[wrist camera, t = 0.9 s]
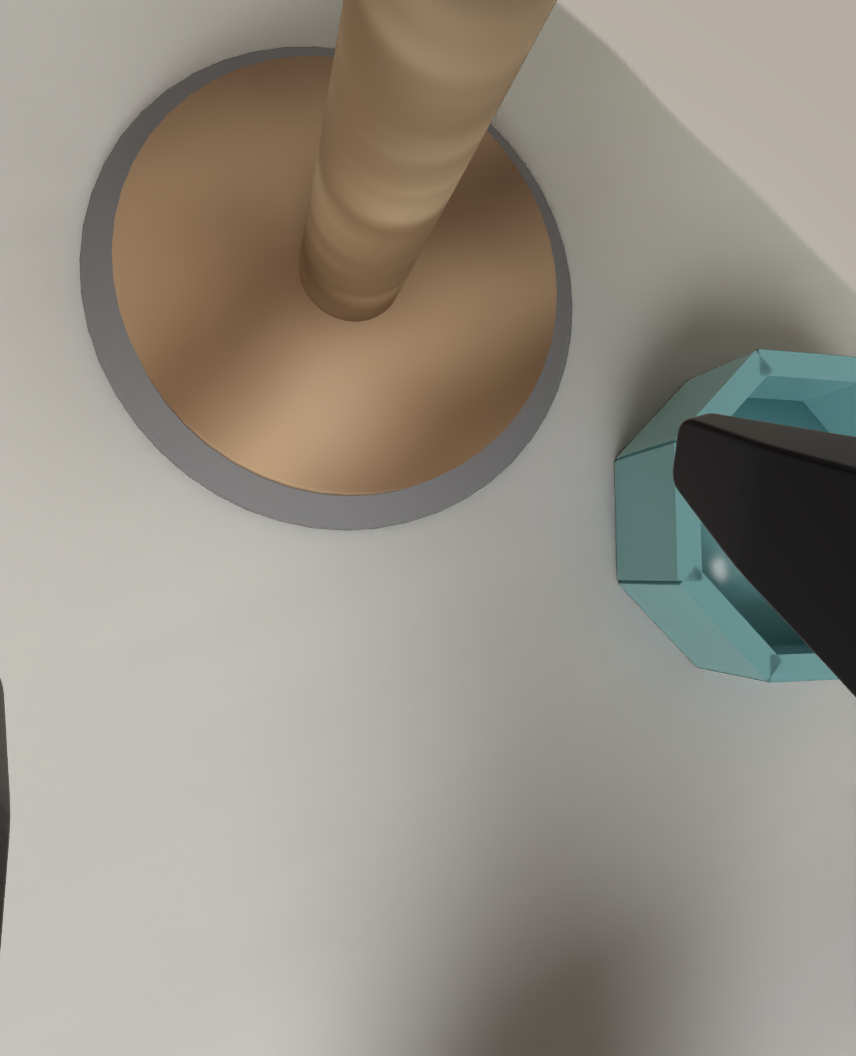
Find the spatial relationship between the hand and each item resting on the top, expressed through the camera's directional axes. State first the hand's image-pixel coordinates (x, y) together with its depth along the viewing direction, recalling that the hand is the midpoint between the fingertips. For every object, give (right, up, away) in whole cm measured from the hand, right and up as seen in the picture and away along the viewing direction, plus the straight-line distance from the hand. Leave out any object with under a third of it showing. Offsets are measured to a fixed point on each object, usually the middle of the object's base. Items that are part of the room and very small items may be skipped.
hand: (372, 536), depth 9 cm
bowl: (+12, 0, +17) cm, 20 cm away
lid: (-2, +8, +13) cm, 15 cm away
